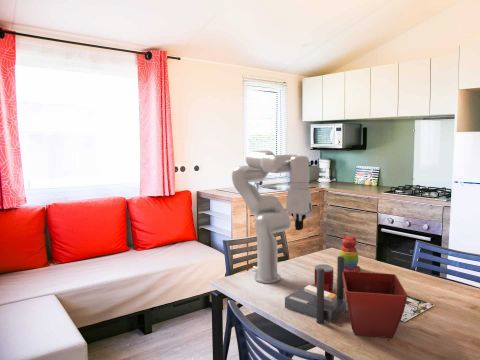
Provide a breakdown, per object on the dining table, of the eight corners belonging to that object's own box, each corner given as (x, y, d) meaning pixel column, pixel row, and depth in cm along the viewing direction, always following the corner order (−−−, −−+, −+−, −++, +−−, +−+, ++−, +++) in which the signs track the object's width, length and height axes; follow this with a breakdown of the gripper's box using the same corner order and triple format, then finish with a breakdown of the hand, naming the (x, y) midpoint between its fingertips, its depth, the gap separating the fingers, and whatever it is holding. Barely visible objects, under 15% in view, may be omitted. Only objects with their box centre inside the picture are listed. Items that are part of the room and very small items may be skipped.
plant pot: (406, 345, 119) (408, 295, 118) (345, 339, 123) (346, 291, 121) (393, 317, 138) (395, 273, 136) (341, 313, 142) (341, 270, 140)
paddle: (303, 290, 146) (304, 287, 146) (308, 287, 149) (309, 284, 149) (331, 301, 138) (332, 298, 138) (336, 298, 141) (336, 294, 141)
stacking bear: (360, 268, 189) (361, 234, 187) (358, 275, 180) (359, 239, 178) (339, 265, 194) (340, 232, 192) (335, 272, 184) (336, 237, 182)
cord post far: (335, 305, 148) (336, 257, 145) (338, 303, 150) (339, 255, 147) (341, 307, 146) (342, 258, 144) (344, 305, 148) (345, 257, 146)
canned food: (333, 295, 157) (333, 270, 156) (314, 294, 159) (314, 269, 158) (332, 288, 165) (333, 264, 163) (314, 287, 166) (314, 263, 165)
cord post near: (315, 322, 135) (315, 269, 132) (318, 319, 137) (319, 267, 134) (321, 324, 133) (322, 271, 131) (324, 321, 135) (325, 269, 133)
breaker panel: (284, 307, 147) (284, 293, 146) (301, 296, 157) (301, 283, 156) (331, 323, 134) (331, 307, 134) (346, 309, 144) (346, 295, 144)
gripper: (279, 185, 154) (279, 228, 156) (311, 188, 144) (310, 234, 146) (288, 183, 159) (288, 225, 161) (320, 186, 150) (319, 230, 152)
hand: (299, 229), depth 154 cm, fingers closed
